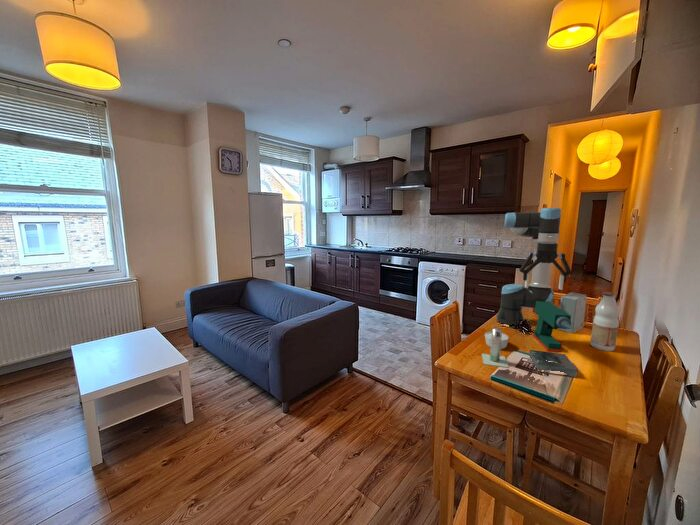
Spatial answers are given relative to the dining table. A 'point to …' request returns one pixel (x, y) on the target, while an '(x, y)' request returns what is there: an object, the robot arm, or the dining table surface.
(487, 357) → the rubber mat
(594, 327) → the fruit juice
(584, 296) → the hard drive box
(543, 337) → the power tool
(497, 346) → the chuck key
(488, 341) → the ramekin
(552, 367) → the plate
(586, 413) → the dining table surface
